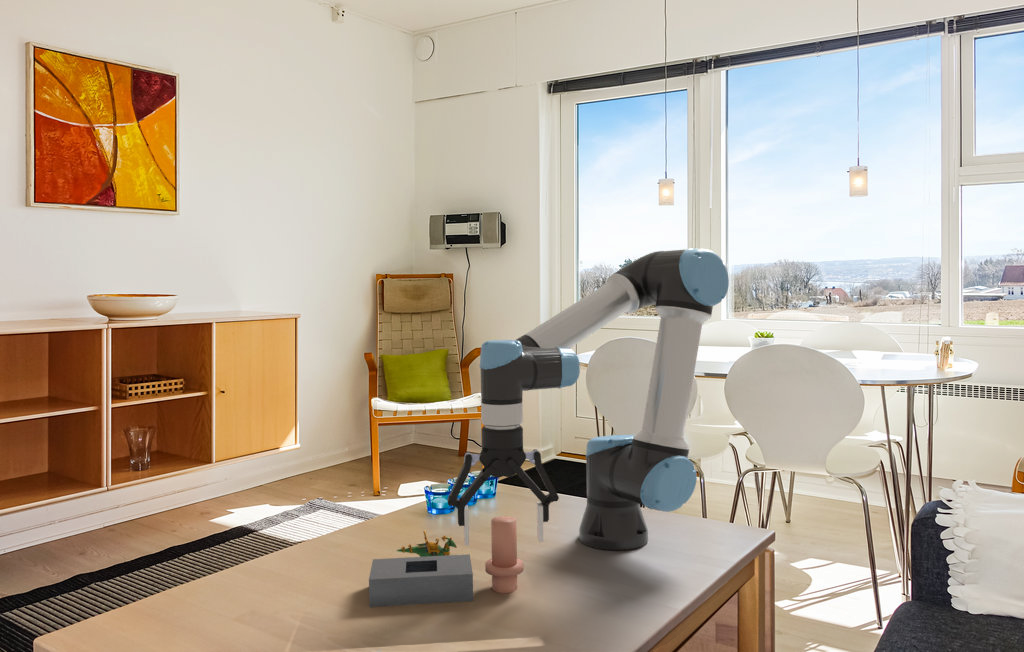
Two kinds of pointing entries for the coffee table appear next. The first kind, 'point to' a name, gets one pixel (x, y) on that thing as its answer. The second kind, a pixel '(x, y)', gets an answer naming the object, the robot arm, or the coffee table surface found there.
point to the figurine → (430, 548)
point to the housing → (420, 580)
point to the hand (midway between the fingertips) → (503, 541)
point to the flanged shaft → (504, 555)
